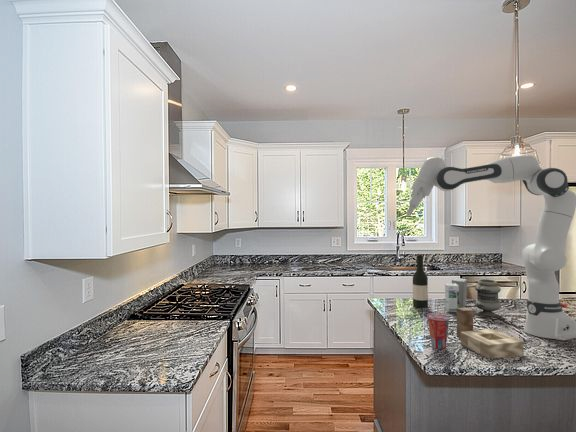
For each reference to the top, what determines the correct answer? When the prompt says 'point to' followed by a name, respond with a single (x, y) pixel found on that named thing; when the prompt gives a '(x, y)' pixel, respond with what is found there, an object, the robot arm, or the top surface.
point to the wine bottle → (420, 285)
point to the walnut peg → (464, 320)
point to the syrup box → (452, 297)
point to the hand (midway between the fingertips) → (408, 215)
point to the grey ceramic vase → (487, 298)
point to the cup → (438, 330)
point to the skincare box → (461, 290)
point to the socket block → (492, 343)
